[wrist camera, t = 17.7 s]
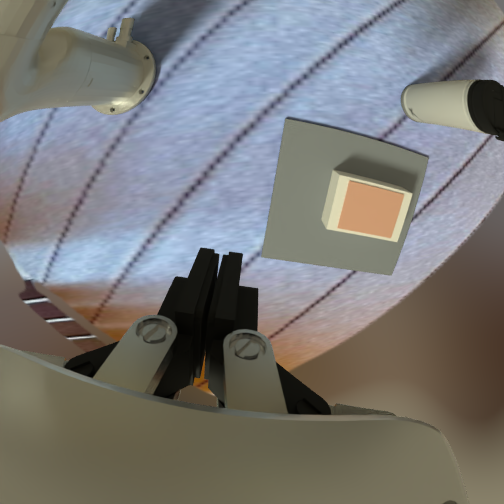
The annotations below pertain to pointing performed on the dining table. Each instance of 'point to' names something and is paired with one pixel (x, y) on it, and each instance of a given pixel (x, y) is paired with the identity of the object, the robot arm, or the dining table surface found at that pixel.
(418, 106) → the travel mug
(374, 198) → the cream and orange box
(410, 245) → the dining table surface
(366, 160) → the mat
